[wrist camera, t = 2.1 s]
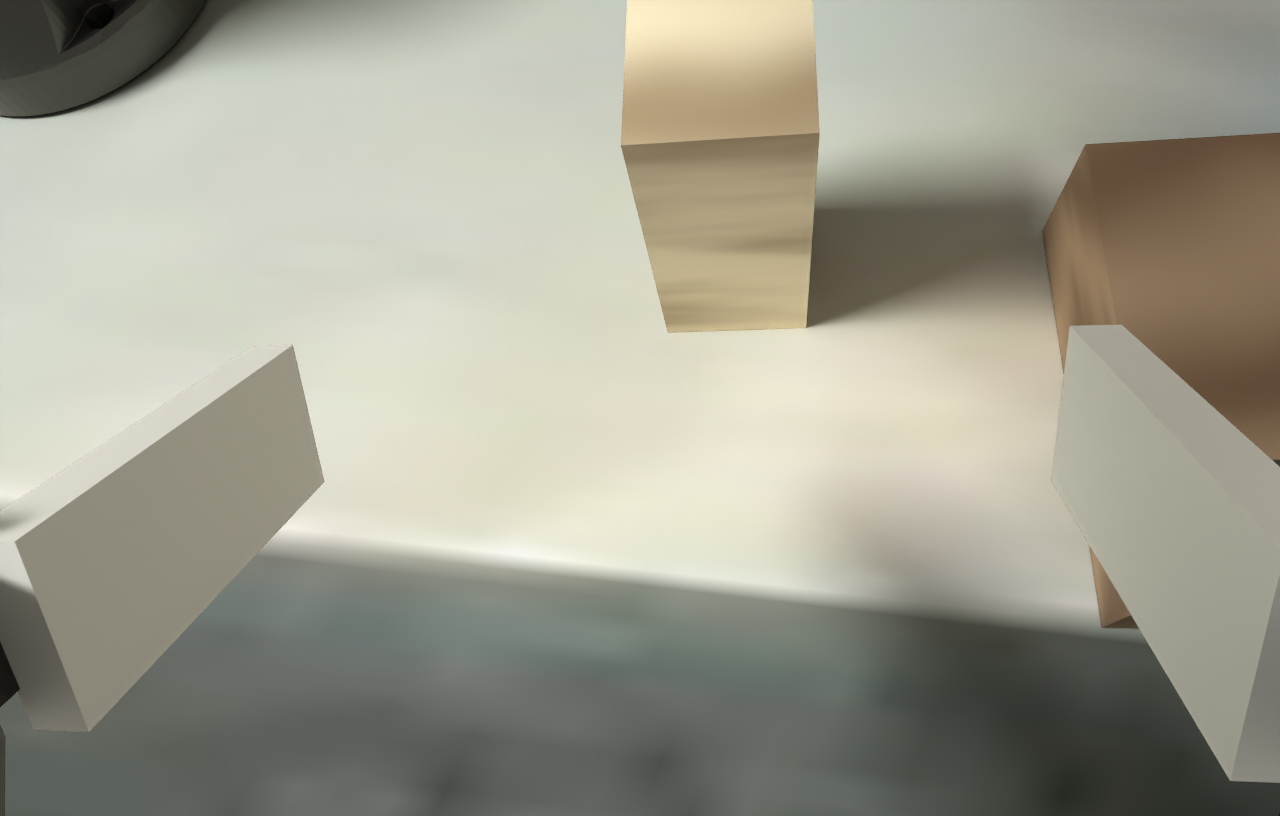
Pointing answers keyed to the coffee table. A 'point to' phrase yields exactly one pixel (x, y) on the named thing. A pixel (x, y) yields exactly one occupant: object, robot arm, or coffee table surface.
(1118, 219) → the walnut block
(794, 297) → the beech block
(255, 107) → the coffee table surface
